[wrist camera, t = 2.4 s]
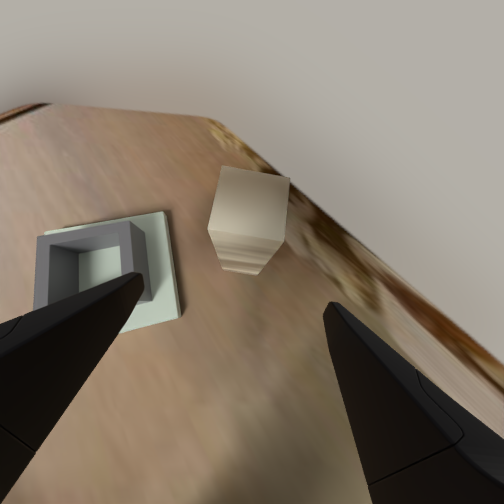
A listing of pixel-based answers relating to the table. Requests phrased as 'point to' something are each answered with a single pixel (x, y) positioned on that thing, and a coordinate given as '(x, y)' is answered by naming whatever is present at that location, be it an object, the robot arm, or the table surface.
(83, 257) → the socket holder
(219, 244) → the plug block
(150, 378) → the table surface
